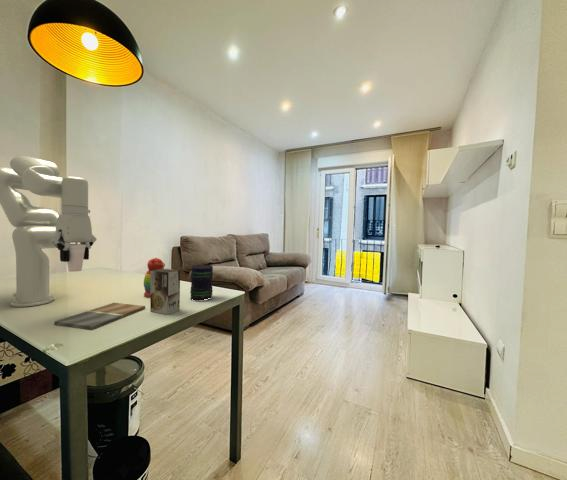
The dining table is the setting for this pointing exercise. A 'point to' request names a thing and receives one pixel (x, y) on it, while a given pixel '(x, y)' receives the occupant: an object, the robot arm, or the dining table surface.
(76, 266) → the smoothie
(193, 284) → the storage jar
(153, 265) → the stacking bear
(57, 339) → the dining table surface
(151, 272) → the coffee box
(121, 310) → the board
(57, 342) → the dining table surface
